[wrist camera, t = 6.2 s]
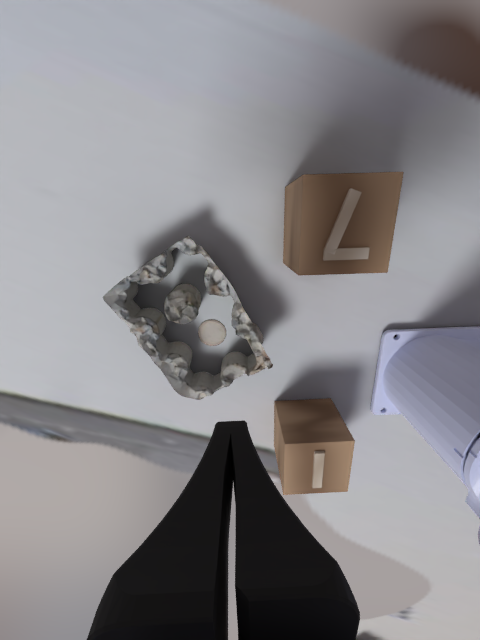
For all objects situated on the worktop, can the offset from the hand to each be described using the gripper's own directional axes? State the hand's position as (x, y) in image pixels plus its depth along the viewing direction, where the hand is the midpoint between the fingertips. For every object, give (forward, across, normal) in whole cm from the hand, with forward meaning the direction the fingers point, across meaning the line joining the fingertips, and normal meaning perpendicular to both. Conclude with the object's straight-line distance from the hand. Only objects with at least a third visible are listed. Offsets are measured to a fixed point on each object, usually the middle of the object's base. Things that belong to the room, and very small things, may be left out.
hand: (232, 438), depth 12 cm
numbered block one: (+10, -6, +8) cm, 14 cm away
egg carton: (+10, +3, -3) cm, 11 cm away
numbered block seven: (+10, -6, -9) cm, 15 cm away
